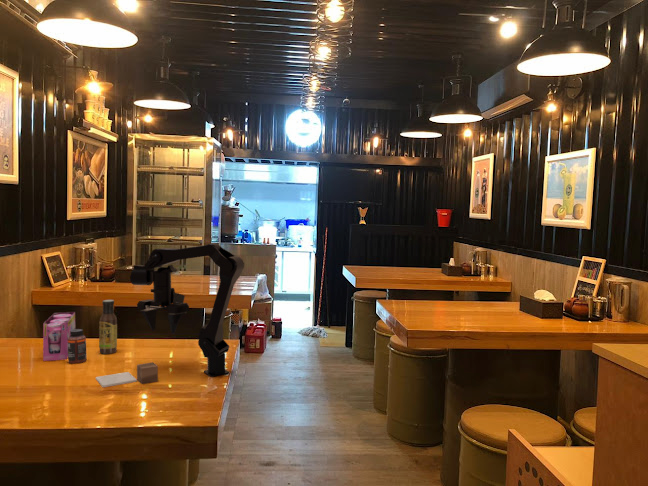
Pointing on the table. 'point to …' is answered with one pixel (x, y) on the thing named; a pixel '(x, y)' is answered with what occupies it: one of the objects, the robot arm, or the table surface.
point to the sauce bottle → (108, 329)
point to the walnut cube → (147, 373)
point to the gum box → (57, 335)
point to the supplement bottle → (76, 346)
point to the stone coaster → (116, 379)
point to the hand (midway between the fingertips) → (163, 331)
